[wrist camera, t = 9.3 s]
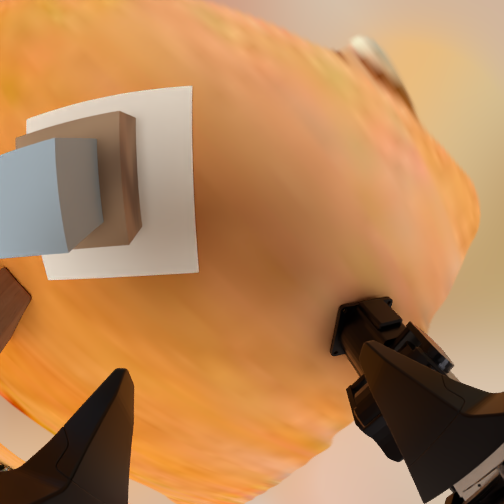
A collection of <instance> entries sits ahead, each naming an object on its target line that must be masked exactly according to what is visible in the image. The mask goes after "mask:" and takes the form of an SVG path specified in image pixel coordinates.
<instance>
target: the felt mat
mask: <svg viewBox="0 0 504 504" xmlns="http://www.w3.org/2000/svg"><path fill="white" fill-rule="evenodd" d="M115 111H121V112H124V113H126V114H128V115H131V116H133V117H135V118H136V154H137V174H138V188H139V200H140V210H141V220H142V227H141V229H140V230H139V232H138V233H137V234H136V236H135V237H134V239H133V240H132V242H131V243H130V244H129V245H122V246H109V247H97V248H84V249H72V250H71V251H70V252H69V253H62V254H49V255H42V259H43V263H44V266H45V270H46V274H47V277H48V280H64V279H88V278H110V277H129V276H148V275H166V274H182V273H198V272H199V265H198V252H197V239H196V224H195V206H194V185H193V153H192V86H181V87H169V88H160V89H151V90H143V91H136V92H130V93H124V94H118V95H113V96H108V97H103V98H98V99H94V100H89V101H85V102H81V103H77V104H73V105H70V106H66V107H63V108H59V109H56V110H53V111H50V112H46V113H43V114H40V115H38V116H35V117H32V118H29V119H27V129H26V134H29V133H32V132H35V131H38V130H41V129H44V128H47V127H51V126H54V125H58V124H61V123H65V122H69V121H73V120H77V119H81V118H85V117H90V116H94V115H99V114H104V113H109V112H115Z"/></svg>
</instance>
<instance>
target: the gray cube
mask: <svg viewBox="0 0 504 504" xmlns="http://www.w3.org/2000/svg"><path fill="white" fill-rule="evenodd" d="M103 222H104V221H103V214H102V206H101V197H100V187H99V175H98V160H97V139H93V138H52V139H48V140H45V141H41V142H38V143H35V144H31V145H28V146H25V147H22V148H19V149H16V150H13V151H10V152H8V153H5V154H2V155H0V259H1V258H13V257H25V256H37V255H49V254H62V253H69V252H70V251H71V250H72V249H73V248H74V247H76V246H77V245H78V244H79V243H80V242H81V241H82V240H83V239H84V238H86V237H87V236H88V235H89V234H90V233H91V232H92V231H94V230H95V229H96V228H97V227H98V226H99V225H101V224H102V223H103Z"/></svg>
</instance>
